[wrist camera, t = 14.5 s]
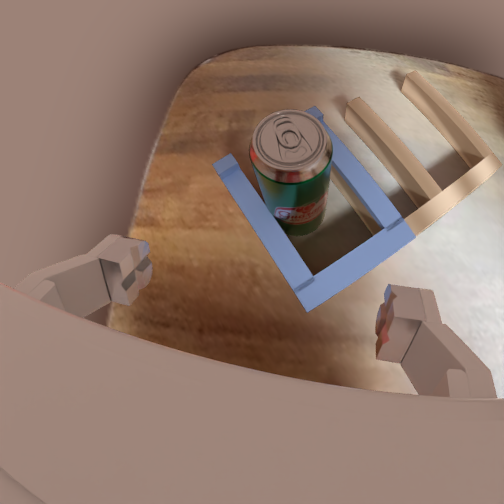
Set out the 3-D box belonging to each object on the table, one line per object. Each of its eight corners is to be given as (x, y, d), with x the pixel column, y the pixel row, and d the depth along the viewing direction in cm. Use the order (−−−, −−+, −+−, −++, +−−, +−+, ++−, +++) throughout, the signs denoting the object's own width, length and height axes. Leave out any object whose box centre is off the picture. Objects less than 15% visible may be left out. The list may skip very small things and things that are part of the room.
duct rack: (409, 87, 31) (415, 70, 28) (489, 177, 27) (502, 164, 24) (227, 189, 31) (219, 175, 28) (306, 312, 27) (306, 309, 24)
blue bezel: (315, 117, 28) (314, 105, 26) (413, 239, 24) (420, 233, 22) (217, 173, 28) (212, 164, 26) (307, 312, 24) (307, 311, 22)
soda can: (279, 245, 29) (261, 188, 17) (262, 196, 30) (235, 119, 19) (333, 227, 28) (348, 160, 17) (313, 178, 30) (313, 95, 18)
